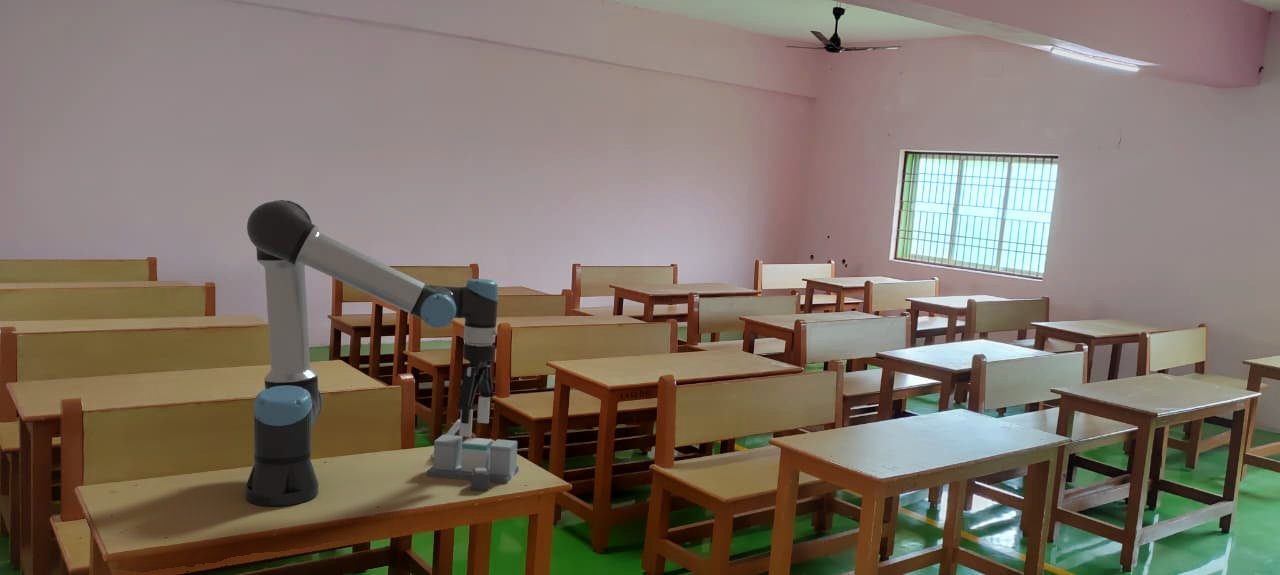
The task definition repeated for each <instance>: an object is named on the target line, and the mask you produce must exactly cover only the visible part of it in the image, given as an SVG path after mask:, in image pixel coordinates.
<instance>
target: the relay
mask: <svg viewBox="0 0 1280 575" xmlns="http://www.w3.org/2000/svg"><path fill="white" fill-rule="evenodd" d="M489 480H490V469H486V468H476V469H473V470H472V474H471V480H470V491H471V492H489V490H490V482H489Z"/></svg>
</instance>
